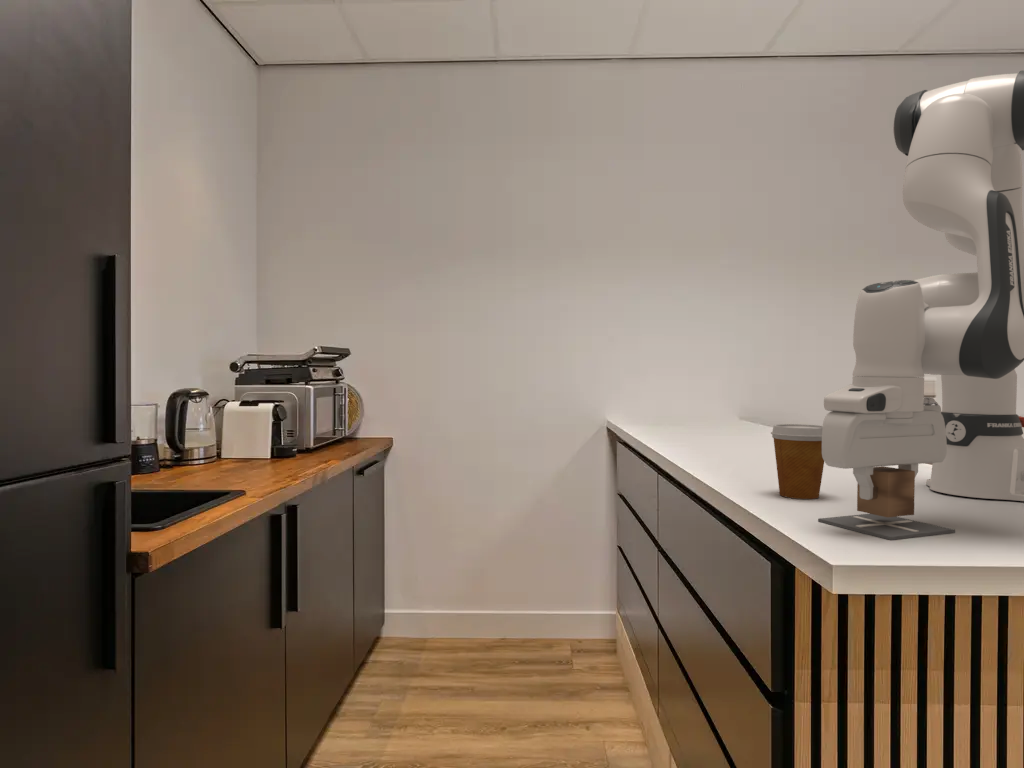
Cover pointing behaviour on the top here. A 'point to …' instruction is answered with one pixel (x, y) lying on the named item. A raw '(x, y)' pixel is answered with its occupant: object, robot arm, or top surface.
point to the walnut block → (890, 493)
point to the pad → (886, 526)
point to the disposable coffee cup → (798, 460)
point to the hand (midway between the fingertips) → (885, 497)
